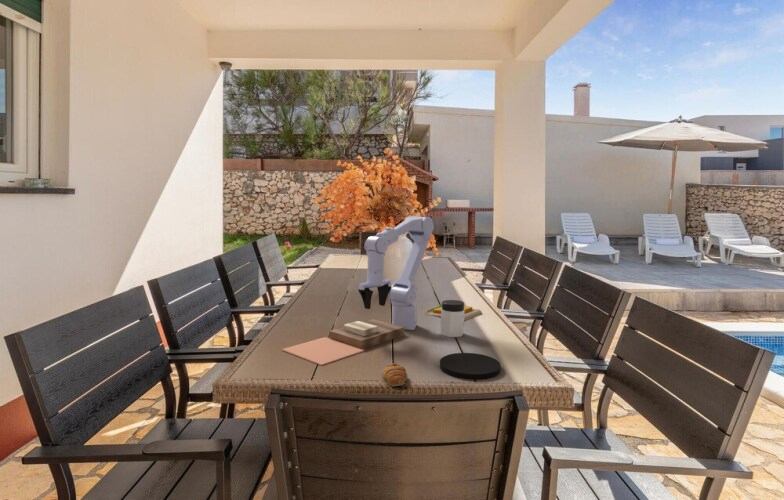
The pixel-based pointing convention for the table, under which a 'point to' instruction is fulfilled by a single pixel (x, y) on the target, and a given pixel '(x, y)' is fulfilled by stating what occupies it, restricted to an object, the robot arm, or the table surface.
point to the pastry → (394, 374)
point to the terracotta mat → (323, 351)
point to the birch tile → (360, 328)
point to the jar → (452, 318)
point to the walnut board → (384, 334)
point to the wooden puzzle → (468, 312)
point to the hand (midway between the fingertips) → (374, 307)
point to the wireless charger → (470, 366)
